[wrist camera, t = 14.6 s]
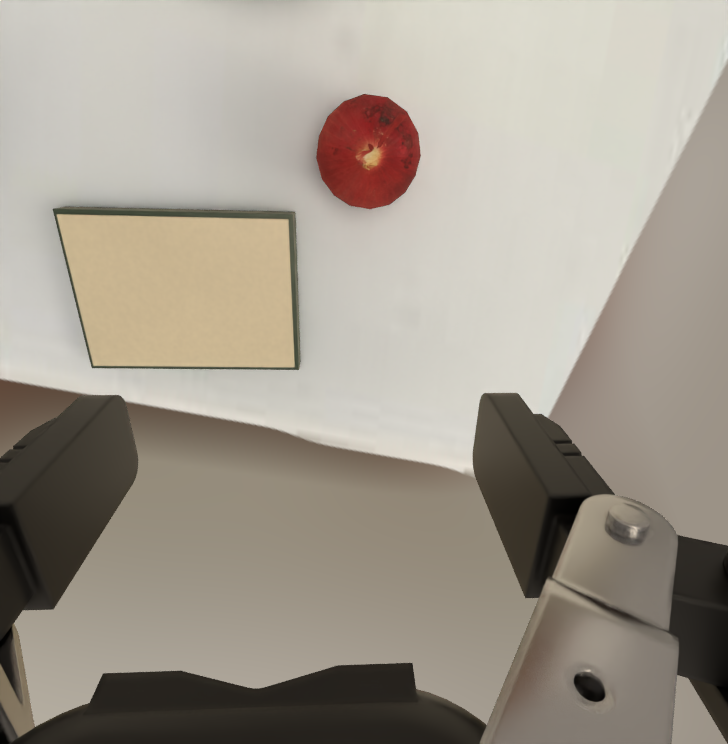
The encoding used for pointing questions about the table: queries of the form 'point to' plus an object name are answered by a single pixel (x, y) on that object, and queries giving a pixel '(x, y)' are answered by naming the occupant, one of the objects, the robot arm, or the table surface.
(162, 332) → the notebook
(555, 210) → the table surface
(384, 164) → the pomegranate
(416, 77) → the table surface
